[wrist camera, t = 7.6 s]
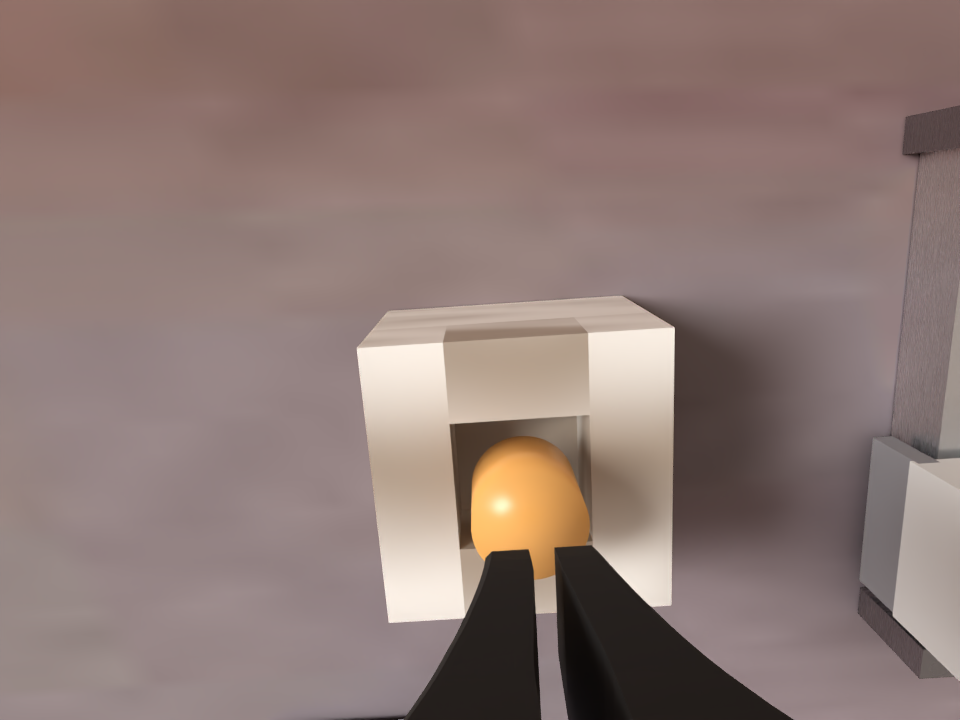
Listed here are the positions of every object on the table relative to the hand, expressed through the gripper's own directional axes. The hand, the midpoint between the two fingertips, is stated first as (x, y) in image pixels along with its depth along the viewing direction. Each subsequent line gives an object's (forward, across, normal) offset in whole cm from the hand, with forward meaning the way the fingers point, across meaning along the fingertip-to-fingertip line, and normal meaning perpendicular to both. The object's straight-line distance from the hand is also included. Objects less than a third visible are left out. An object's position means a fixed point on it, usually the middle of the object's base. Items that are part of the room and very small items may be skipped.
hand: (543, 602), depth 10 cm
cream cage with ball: (+9, 0, 0) cm, 9 cm away
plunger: (+4, 0, 0) cm, 4 cm away
